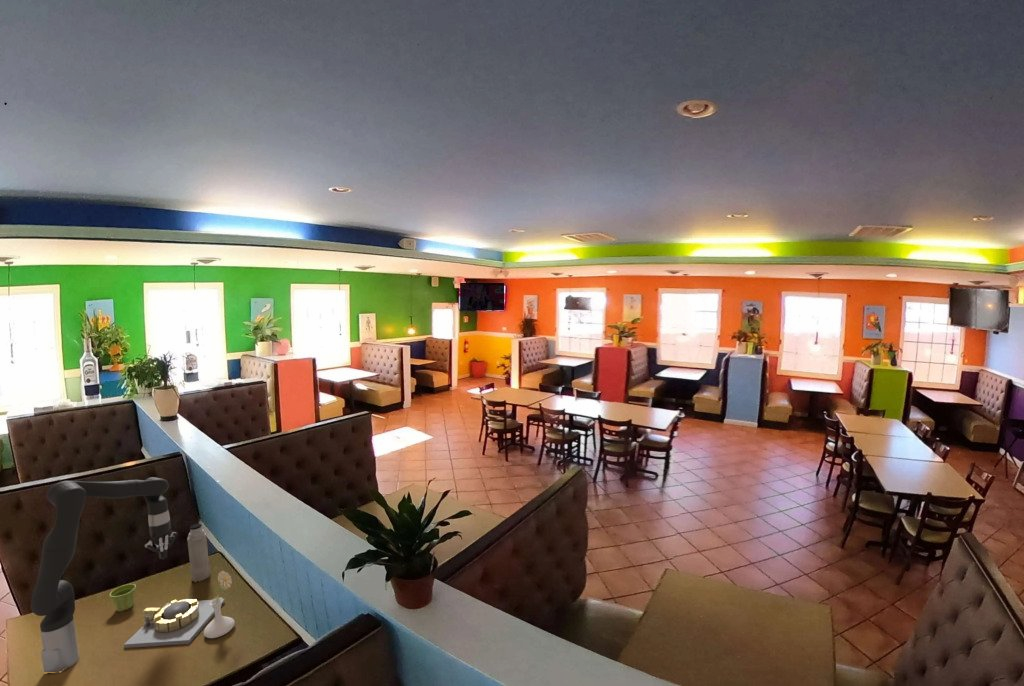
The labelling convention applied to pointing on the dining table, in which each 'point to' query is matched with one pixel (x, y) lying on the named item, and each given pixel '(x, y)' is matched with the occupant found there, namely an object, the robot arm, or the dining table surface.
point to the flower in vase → (220, 622)
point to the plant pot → (123, 597)
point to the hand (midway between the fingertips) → (163, 558)
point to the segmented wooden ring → (174, 623)
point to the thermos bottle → (198, 553)
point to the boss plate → (179, 636)
